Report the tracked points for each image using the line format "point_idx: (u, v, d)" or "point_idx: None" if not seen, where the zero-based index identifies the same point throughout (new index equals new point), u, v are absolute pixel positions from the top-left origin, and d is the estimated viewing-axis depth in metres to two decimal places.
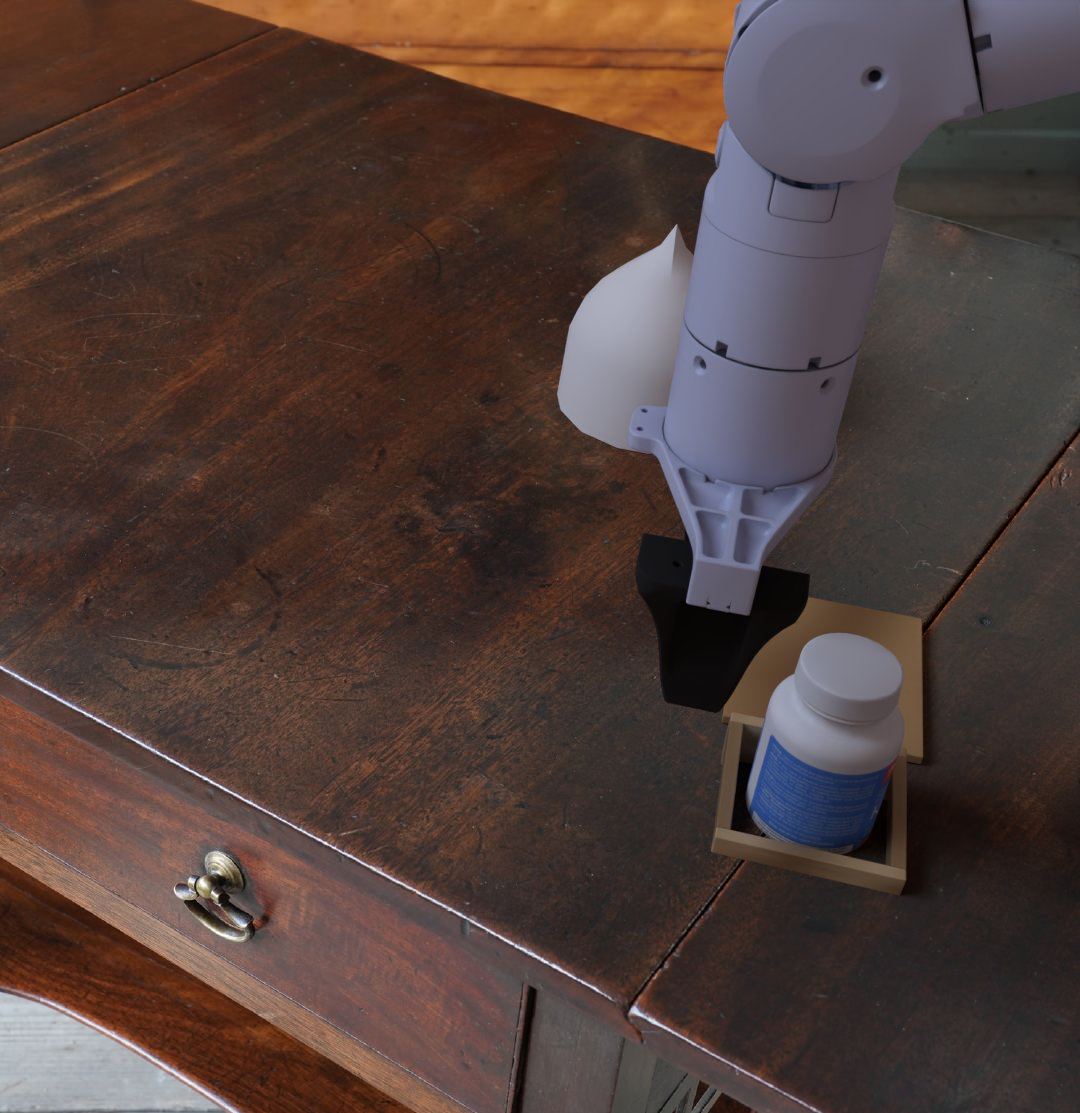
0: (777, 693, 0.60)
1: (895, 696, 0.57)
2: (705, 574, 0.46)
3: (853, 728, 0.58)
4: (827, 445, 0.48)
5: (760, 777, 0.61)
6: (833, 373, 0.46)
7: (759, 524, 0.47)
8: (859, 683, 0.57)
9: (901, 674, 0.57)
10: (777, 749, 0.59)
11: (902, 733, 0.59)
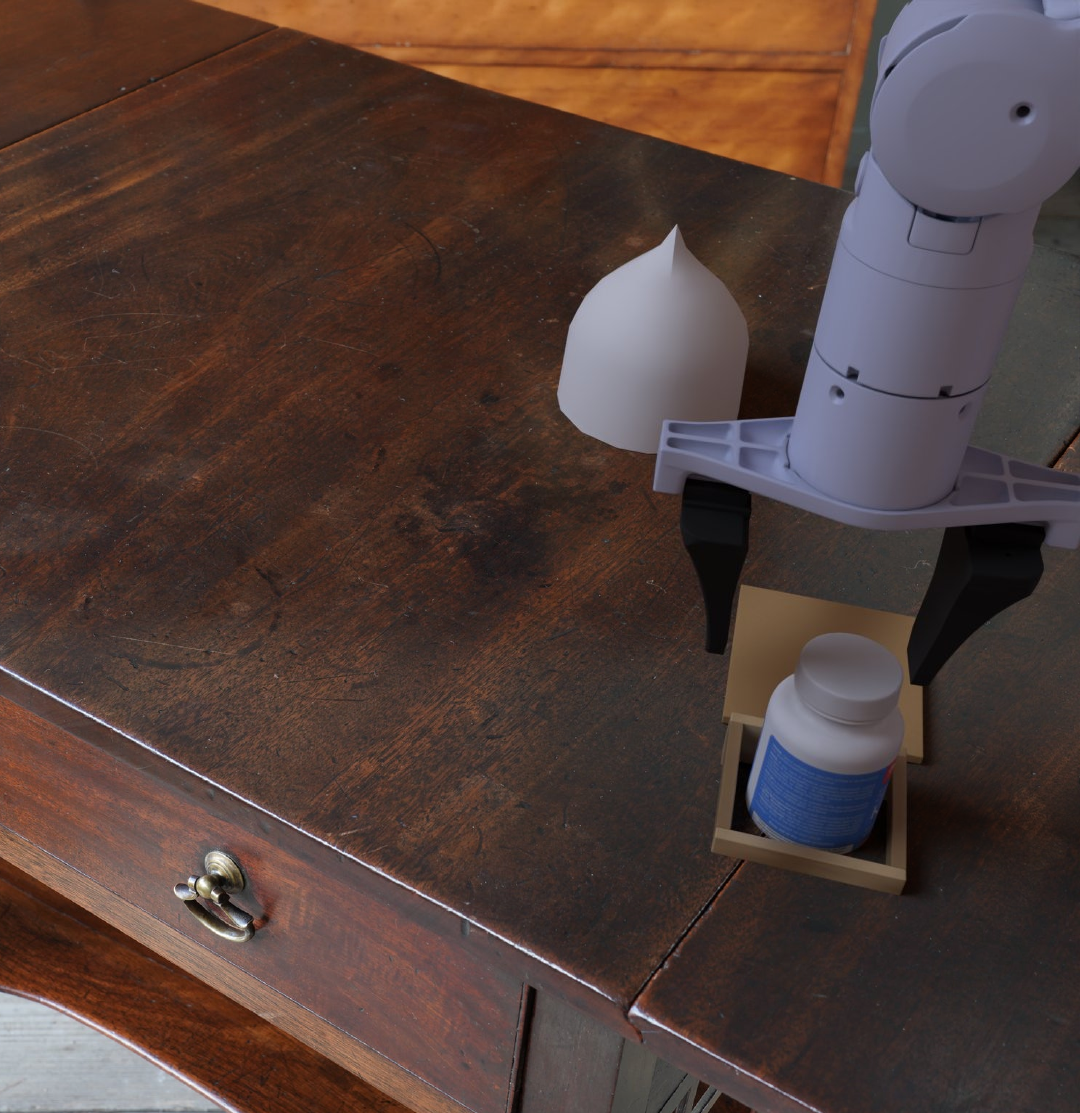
0: (777, 693, 0.60)
1: (895, 696, 0.57)
2: None
3: (853, 728, 0.58)
4: (841, 472, 0.49)
5: (760, 777, 0.61)
6: (843, 386, 0.48)
7: (733, 458, 0.52)
8: (859, 683, 0.57)
9: (901, 674, 0.57)
10: (777, 749, 0.59)
11: (902, 733, 0.59)
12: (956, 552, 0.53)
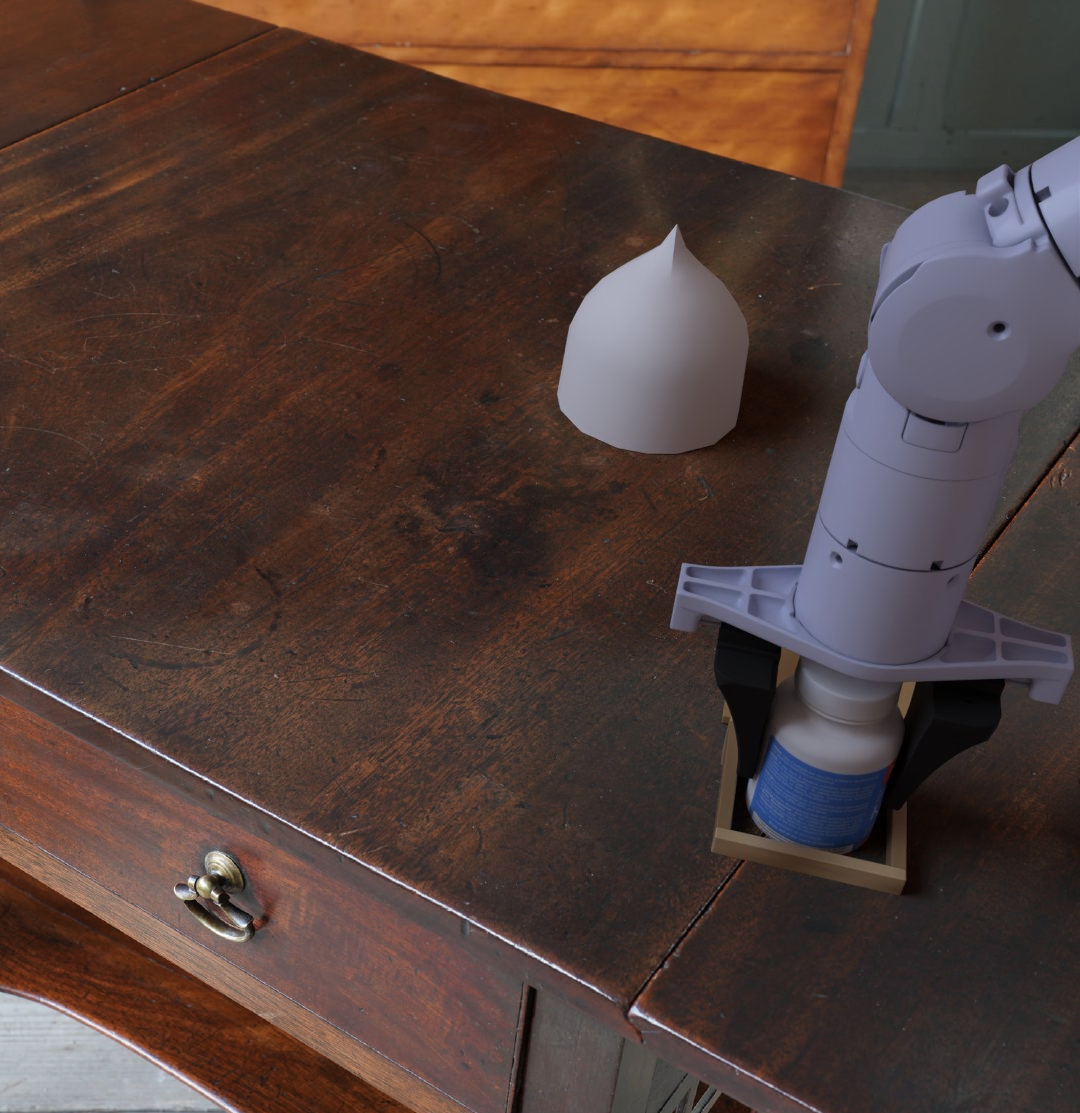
0: (777, 693, 0.60)
1: (895, 696, 0.57)
2: None
3: (853, 728, 0.58)
4: (839, 628, 0.54)
5: (760, 777, 0.61)
6: (841, 553, 0.52)
7: (743, 605, 0.56)
8: (859, 683, 0.57)
9: None
10: (777, 749, 0.59)
11: (902, 733, 0.59)
12: (925, 693, 0.57)
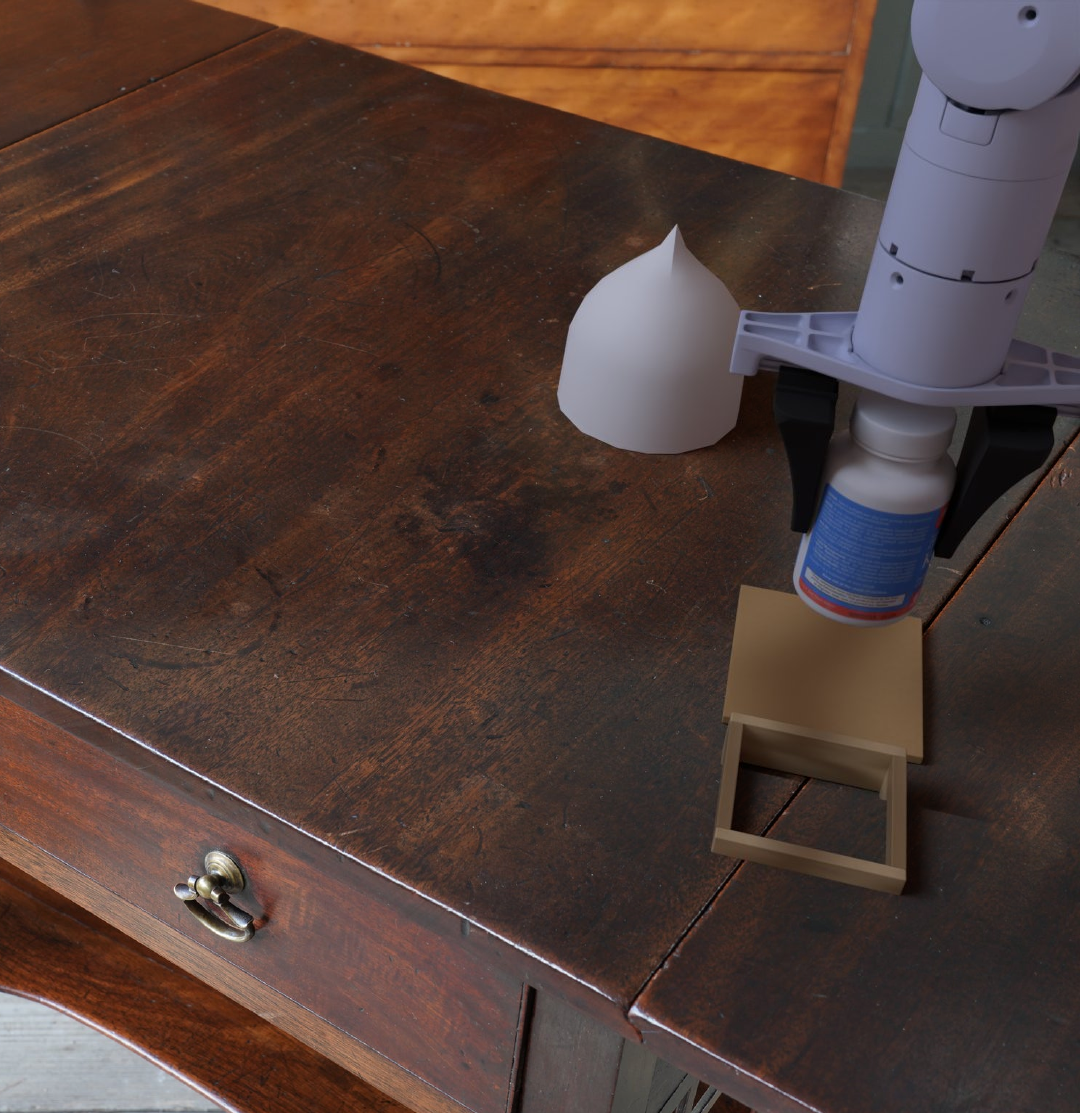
0: (831, 444, 0.62)
1: (949, 434, 0.59)
2: None
3: (908, 468, 0.59)
4: (898, 352, 0.55)
5: (814, 530, 0.63)
6: (902, 272, 0.54)
7: (802, 343, 0.58)
8: (914, 422, 0.59)
9: (954, 414, 0.59)
10: (832, 495, 0.61)
11: (954, 476, 0.60)
12: (978, 431, 0.59)
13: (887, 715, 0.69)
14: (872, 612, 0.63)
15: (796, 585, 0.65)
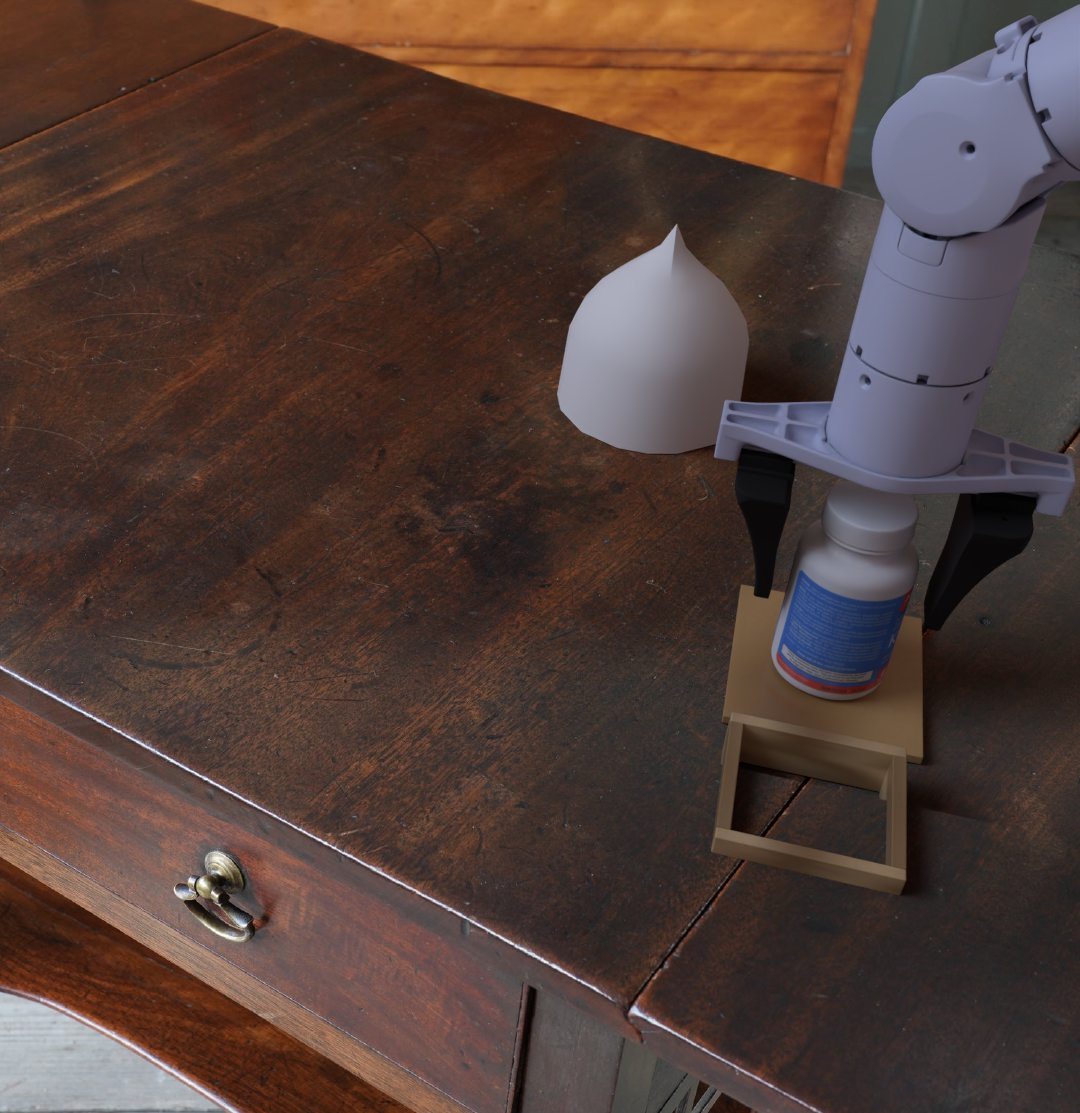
0: (805, 534, 0.67)
1: (911, 529, 0.64)
2: (722, 413, 0.65)
3: (874, 559, 0.65)
4: (867, 445, 0.61)
5: (789, 611, 0.69)
6: (870, 374, 0.59)
7: (780, 433, 0.63)
8: (880, 518, 0.64)
9: (916, 511, 0.65)
10: (806, 582, 0.67)
11: (917, 566, 0.66)
12: (964, 517, 0.64)
13: (887, 715, 0.69)
14: (842, 687, 0.68)
15: (773, 660, 0.71)
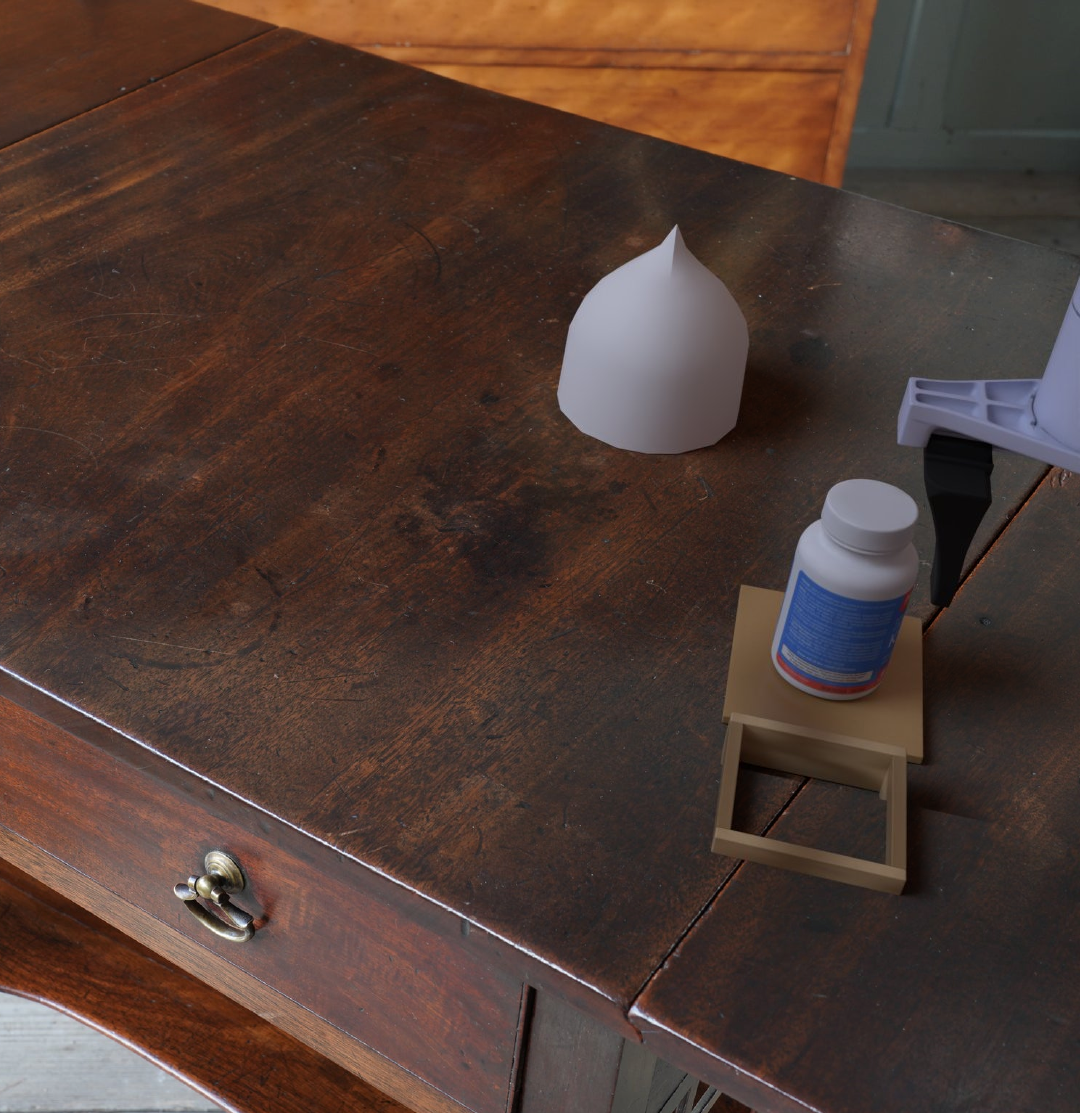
0: (805, 534, 0.67)
1: (911, 529, 0.64)
2: (906, 393, 0.56)
3: (874, 559, 0.65)
4: None
5: (789, 611, 0.69)
6: None
7: (980, 415, 0.54)
8: (880, 518, 0.64)
9: (916, 511, 0.65)
10: (806, 582, 0.67)
11: (917, 566, 0.66)
12: None
13: (887, 715, 0.69)
14: (842, 687, 0.68)
15: (773, 660, 0.71)
